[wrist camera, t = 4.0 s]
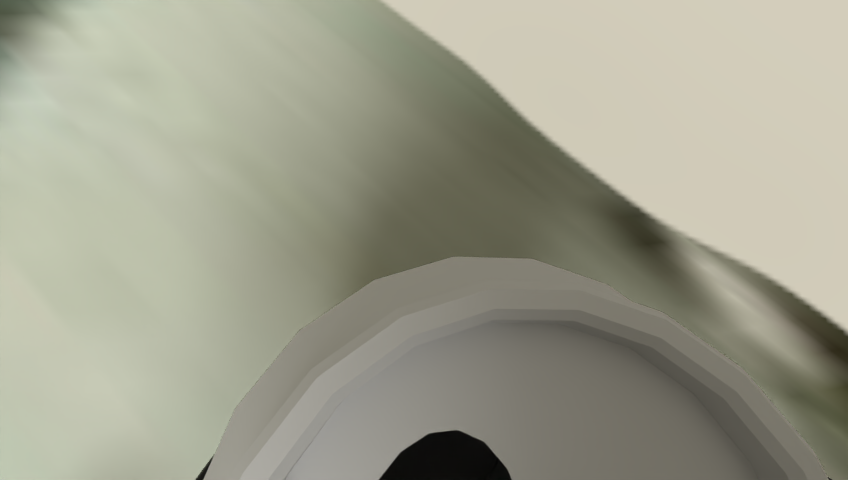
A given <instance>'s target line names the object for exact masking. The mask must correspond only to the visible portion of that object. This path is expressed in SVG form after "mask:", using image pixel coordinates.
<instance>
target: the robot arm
mask: <svg viewBox="0 0 848 480" xmlns="http://www.w3.org/2000/svg"><path fill="white" fill-rule="evenodd" d="M213 457H214V455H213ZM213 457H212V458H211V459H210V461H209V462H208V463H207V465H206V466H205V467H204V469H203V470H202V471H201V473H200V474H199V475H198V477H197V478H196V480H203V479H204V477H205V475H206V473H207V470H208V468H209V466H210V464H211V461H212V459H213ZM828 479H829V480H832V479H830V478H829V477H828Z"/></svg>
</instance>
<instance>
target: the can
mask: <svg viewBox="0 0 848 480" xmlns="http://www.w3.org/2000/svg"><path fill="white" fill-rule="evenodd" d="M203 480H829V479H828V477H827V475H826V473H825V471H824V469H823V467H822V465H821V464H820V462H819V460H818V458H817V456H816V454H815V452H814V451H813V449H812V448H811V447H810V446H809V445H808V444H807V442H806V441H805V440H804V439H803V438H802V437H801V435H800V434H799V433H798V432H797V431H796V430H795V428H794V427H793V426H792V425H791V424H790V423H789V421H788V420H787V419H786V418H785V417H784V416H783V414H782V413H781V412H780V411H779V410H778V409H777V407H776V406H775V405H774V404H773V403H772V402H771V400H770V399H769V398H768V397H767V396H766V395H765V393H764V392H763V391H762V390H761V389H760V388H759V386H758V385H757V384H756V383H755V382H754V381H753V379H752V378H751V377H750V376H749V375H748V374H747V372H746V371H745V370H744V369H743V368H742V367H740V366H739V365H738V364H736V363H735V362H733V361H732V360H730V359H729V358H728V357H726V356H725V355H723V354H722V353H720V352H719V351H718V350H716V349H715V348H713V347H712V346H710V345H709V344H708V343H706V342H705V341H703V340H702V339H700V338H699V337H698V336H696V335H695V334H693V333H692V332H690V331H689V330H688V329H686V328H685V327H683V326H682V325H681V324H679V323H678V322H676V321H675V320H673V319H672V318H671V317H669V316H668V315H666V314H665V313H663V312H661V311H658V310H655V309H653V308H650V307H647V306H644V305H641V304H638V303H635V302H632V301H630V300H629V299H628V298H626V297H625V296H623V295H622V294H621V293H619V292H618V291H616V290H615V289H613V288H612V287H611V286H609V285H608V284H605V283H602V282H599V281H596V280H593V279H590V278H587V277H584V276H582V275H579V274H576V273H573V272H570V271H567V270H564V269H561V268H558V267H555V266H552V265H549V264H547V263H544V262H541V261H538V260H535V259H530V258H491V257H450V258H446V259H443V260H440V261H436V262H433V263H429V264H426V265H423V266H419V267H416V268H412V269H409V270H406V271H402V272H399V273H396V274H392V275H389V276H385V277H382V278H379V279H375V280H373V281H372V282H370V283H369V284H367V285H366V286H364V287H363V288H361V289H360V290H358V291H357V292H355V293H354V294H352V295H351V296H349V297H348V298H346V299H345V300H343V301H342V302H340V303H339V304H337V305H336V306H335V307H333V308H332V309H330V310H329V311H327V312H326V313H324V314H323V315H321V316H320V317H318V318H317V319H315V320H314V321H312V322H311V323H309V324H308V325H306V326H305V327H303V328H302V329H300V330H299V331H298V332H297V334H296V335H295V336H294V337H293V339H292V340H291V341H290V342H289V343H288V345H287V346H286V347H285V348H284V349H283V351H282V352H281V353H280V354H279V356H278V357H277V358H276V359H275V360H274V362H273V363H272V364H271V365H270V366H269V368H268V369H267V370H266V371H265V373H264V374H263V375H262V376H261V377H260V379H259V380H258V381H257V382H256V383H255V385H254V386H253V387H252V388H251V390H250V391H249V392H248V393H247V394H246V396H245V397H244V398H243V399H242V400H241V402H240V403H239V404H238V405H237V407H236V408H235V409H234V411H233V414H232V416H231V418H230V420H229V423H228V425H227V427H226V429H225V432H224V434H223V436H222V439H221V441H220V443H219V445H218V448H217V450H216V452H215V454H214V457H213V459H212V461H211V464H210V466H209V468H208V470H207V473H206V475H205V477H204V479H203Z"/></svg>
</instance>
